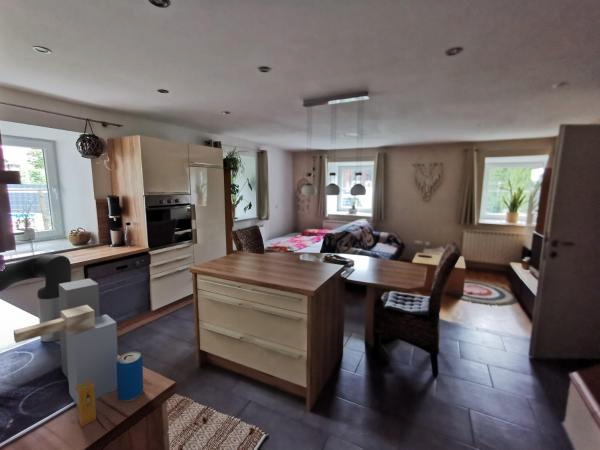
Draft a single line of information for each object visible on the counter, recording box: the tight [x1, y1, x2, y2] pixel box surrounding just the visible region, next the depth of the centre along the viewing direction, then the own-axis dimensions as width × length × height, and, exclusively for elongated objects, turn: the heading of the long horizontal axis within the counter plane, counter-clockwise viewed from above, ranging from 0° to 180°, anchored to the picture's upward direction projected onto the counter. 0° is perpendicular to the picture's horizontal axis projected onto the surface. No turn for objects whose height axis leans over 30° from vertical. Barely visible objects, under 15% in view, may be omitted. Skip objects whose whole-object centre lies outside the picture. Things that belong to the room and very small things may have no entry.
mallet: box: [13, 305, 95, 344], centre depth 74 cm, size 16×6×5 cm, turn 143°
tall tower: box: [59, 278, 101, 381], centre depth 89 cm, size 12×8×30 cm, turn 53°
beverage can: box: [116, 351, 144, 402], centre depth 81 cm, size 6×6×12 cm
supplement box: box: [75, 380, 97, 428], centre depth 72 cm, size 3×3×10 cm
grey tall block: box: [66, 314, 119, 405], centre depth 82 cm, size 8×10×21 cm
